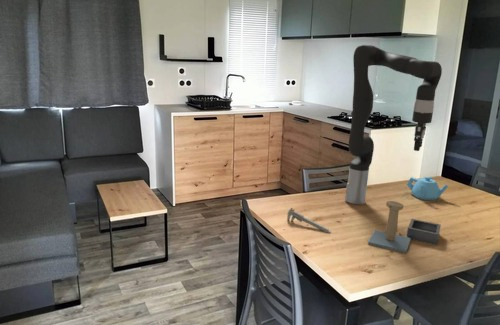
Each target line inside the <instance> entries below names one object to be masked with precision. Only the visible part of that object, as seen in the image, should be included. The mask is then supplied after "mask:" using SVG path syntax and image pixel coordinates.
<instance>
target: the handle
mask: <svg viewBox="0 0 500 325" xmlns="http://www.w3.org/2000/svg"><path fill="white" fill-rule="evenodd" d="M385 205H386V207H387V208H388V209H389V211H388V216H387V222H386V229H385V232H386V239H387V240H389V241H394V240H395V235H397V230H398V221H399V211H402V210H403V209H404V204H402V203H400V202H398V201H395V200H394V201H393V200H388V201H386V204H385Z"/></svg>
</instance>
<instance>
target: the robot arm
mask: <svg viewBox="0 0 500 325" xmlns="http://www.w3.org/2000/svg"><path fill="white" fill-rule="evenodd" d="M352 61H353V95H352V114H351V126H350V132H349V138H348V151H349V153H350V154H351V155H352V156H354V158H353V159H352V160H351V161H350V163H349V169H348V180H347V183H346V188H345V196H344V197H345V198H344V201H345V202H347V203H350V204H353V205H363V204H365V203H366V199H367V198H366V197H367V190H368V189H367V188H368V180H369V171H370V166H371V165H372V162H373V156H374V150H375V149H374V148H375V144H374V141H373V138H372V137H371V136H369V135H365V128H366V125H367V122H368V120H369V118H370V117H371V114H372V112H373V108H374V107H373V106H374V90H373V89H372V86H371V83H370V80H369V67H370V66H377V67H378V66H380V67H386V68H389V69H390V70H393V71H395V72H398V73H401V74H406V75H409V76H410V75H411V76H412V77H415V78H418V79H422V80H423V81H422V84H420V85H419V86H418V87H417V89H416V96H415V102H414V106H413V111H412V122H414V123H417V125H416V126H415V127H414V135H413V136H414V138H413V141H414V146H413V151H415V152H419V151H420V150H421V148H422V145H423V140H424V138H425V137H424V136H426V131H427V126H426V125H427V124H431V123H432V122H433V120H432V119H433V115H434V114H433V113H434V107H435V99H436V98H435V96H436V91H437V88H438V85H439V83H440V80H441V77H442V73H443V71H442V70H443V68H442V65H441V64H440V62H437V61H431V60H429V61H426V60H421V59H418V58H416V57H413V56H407V55H403V54H399V53H392V52H388V51H387V50H383V49H381V48H379V47H377V46H375V45H371V44H370V45H367V44H361V45H357V47H356V48H355V50H354V52H353V60H352Z"/></svg>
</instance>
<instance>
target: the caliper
mask: <svg viewBox="0 0 500 325" xmlns="http://www.w3.org/2000/svg"><path fill="white" fill-rule="evenodd" d="M286 216H287V218H286V220H287V221H290V222H291V223H292V222H294V221H295V219H296V220H297V221H299V222H305V223H306V224H309V225H310V226H312V227H314V228H316V229H318V230H320V231H322V232H325V233H327V234H331V233H332V231H331V230H329V228H327V227H325V226H323V225H321V224H319V223H317V222H315V221H313V220H311V219H309V218H307V217H305V216H304V215H303V214H301V213H299V212H297V211H295V208H293V207H291V208H290V209H289V210H288V211H287V215H286ZM291 216H292V217H291ZM290 219H291V220H290Z"/></svg>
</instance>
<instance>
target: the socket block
mask: <svg viewBox="0 0 500 325" xmlns="http://www.w3.org/2000/svg"><path fill="white" fill-rule="evenodd" d="M441 226H442V225H441V224H439V223H434V222H431V221H430V222H429V221H426V220H425V221H424V220H419V219H415V218H411V219H410V222H409V224H408V227H407V231H406V237H409V238H411V240H410V241H415V242H421V243H425V244H429V245H435V246H438V242H439V236H440V232H441Z"/></svg>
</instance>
